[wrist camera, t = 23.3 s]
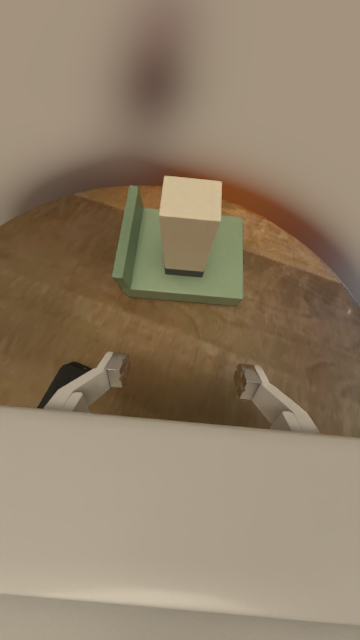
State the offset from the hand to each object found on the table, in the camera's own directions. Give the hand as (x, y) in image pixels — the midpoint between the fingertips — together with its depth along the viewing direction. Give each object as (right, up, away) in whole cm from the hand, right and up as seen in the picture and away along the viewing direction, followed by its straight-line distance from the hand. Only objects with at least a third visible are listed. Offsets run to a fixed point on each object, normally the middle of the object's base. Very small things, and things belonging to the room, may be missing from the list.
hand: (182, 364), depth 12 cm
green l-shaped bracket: (+1, +12, +13) cm, 18 cm away
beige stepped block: (+1, +13, +10) cm, 16 cm away
